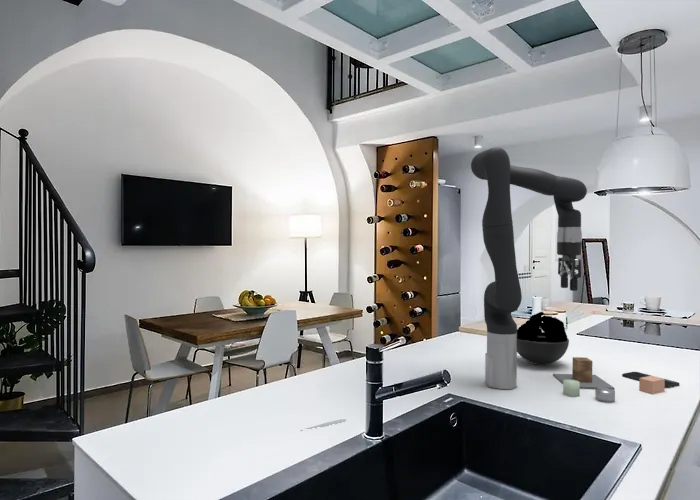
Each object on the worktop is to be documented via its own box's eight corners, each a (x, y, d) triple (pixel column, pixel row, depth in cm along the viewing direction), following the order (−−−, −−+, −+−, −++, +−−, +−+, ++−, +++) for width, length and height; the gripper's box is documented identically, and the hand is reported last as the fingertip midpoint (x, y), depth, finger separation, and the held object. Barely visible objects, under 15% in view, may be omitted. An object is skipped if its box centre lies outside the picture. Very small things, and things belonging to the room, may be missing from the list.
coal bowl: (552, 374, 161) (552, 320, 161) (500, 362, 176) (501, 313, 176) (578, 364, 174) (579, 314, 173) (528, 354, 189) (529, 308, 189)
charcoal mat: (567, 388, 146) (567, 386, 146) (552, 375, 160) (552, 373, 160) (614, 389, 145) (614, 387, 145) (595, 376, 159) (595, 374, 159)
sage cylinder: (566, 396, 138) (566, 383, 138) (561, 392, 143) (561, 379, 143) (581, 397, 138) (581, 383, 138) (576, 392, 142) (576, 379, 142)
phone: (635, 371, 163) (681, 383, 149) (635, 374, 163) (681, 386, 149) (620, 374, 159) (666, 386, 146) (620, 377, 159) (666, 389, 146)
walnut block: (577, 382, 150) (577, 360, 150) (572, 378, 155) (572, 357, 155) (592, 382, 150) (592, 361, 150) (586, 378, 154) (586, 357, 154)
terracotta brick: (652, 394, 141) (652, 381, 141) (639, 390, 144) (639, 378, 144) (664, 391, 143) (664, 379, 143) (651, 388, 147) (651, 375, 147)
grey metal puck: (599, 403, 133) (599, 392, 133) (592, 397, 138) (592, 387, 138) (618, 403, 133) (618, 393, 133) (610, 397, 138) (610, 387, 138)
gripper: (550, 240, 163) (550, 287, 164) (565, 241, 149) (564, 291, 149) (573, 240, 162) (572, 287, 163) (589, 241, 148) (589, 291, 149)
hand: (568, 289), depth 156 cm, fingers open, 8 cm apart
